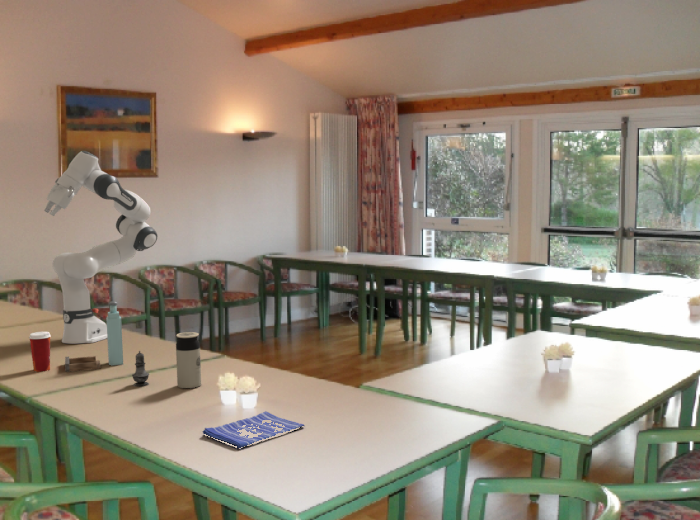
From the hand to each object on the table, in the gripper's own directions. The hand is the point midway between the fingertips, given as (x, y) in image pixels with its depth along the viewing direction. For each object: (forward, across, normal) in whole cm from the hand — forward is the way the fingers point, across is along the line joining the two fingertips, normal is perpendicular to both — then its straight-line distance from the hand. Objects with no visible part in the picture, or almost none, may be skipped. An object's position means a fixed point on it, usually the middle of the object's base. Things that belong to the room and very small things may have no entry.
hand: (48, 213), depth 303 cm
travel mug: (+25, -86, -48) cm, 102 cm away
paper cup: (+51, -32, -22) cm, 64 cm away
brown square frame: (+42, -36, -33) cm, 65 cm away
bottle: (+35, -39, -43) cm, 68 cm away
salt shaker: (+34, -75, -39) cm, 91 cm away
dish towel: (+24, -142, -42) cm, 150 cm away
